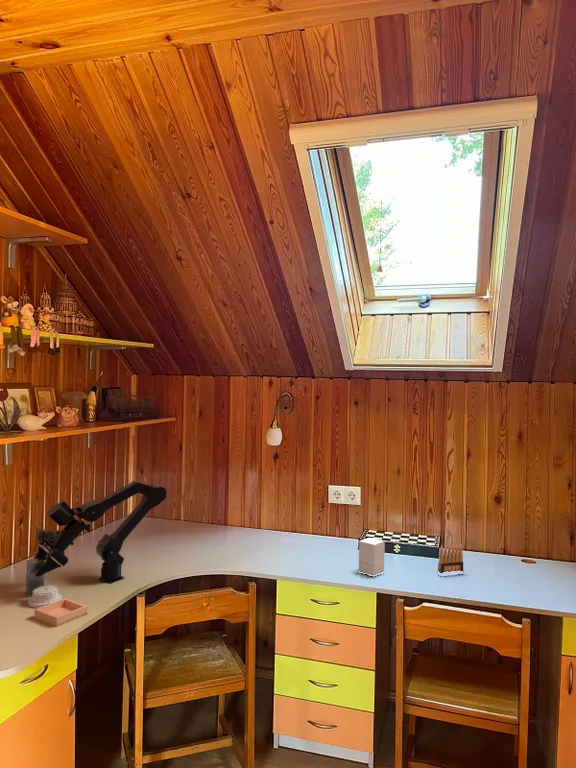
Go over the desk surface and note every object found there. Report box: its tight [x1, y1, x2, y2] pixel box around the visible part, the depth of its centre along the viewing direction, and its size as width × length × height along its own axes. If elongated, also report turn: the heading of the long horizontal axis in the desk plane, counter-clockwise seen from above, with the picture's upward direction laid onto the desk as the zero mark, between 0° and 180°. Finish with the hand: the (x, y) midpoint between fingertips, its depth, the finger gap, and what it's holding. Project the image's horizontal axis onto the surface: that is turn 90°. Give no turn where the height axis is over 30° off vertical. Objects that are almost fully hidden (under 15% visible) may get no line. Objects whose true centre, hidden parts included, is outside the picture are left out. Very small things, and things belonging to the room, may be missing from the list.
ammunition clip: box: [437, 543, 464, 573], centre depth 216 cm, size 11×2×12 cm, turn 110°
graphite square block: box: [25, 558, 45, 598], centre depth 185 cm, size 4×4×11 cm
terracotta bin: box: [34, 598, 88, 627], centre depth 168 cm, size 11×11×2 cm
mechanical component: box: [27, 585, 63, 609], centre depth 179 cm, size 10×4×10 cm
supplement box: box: [358, 537, 386, 575], centre depth 216 cm, size 7×7×13 cm
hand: (32, 571), depth 185 cm, fingers open, 9 cm apart
